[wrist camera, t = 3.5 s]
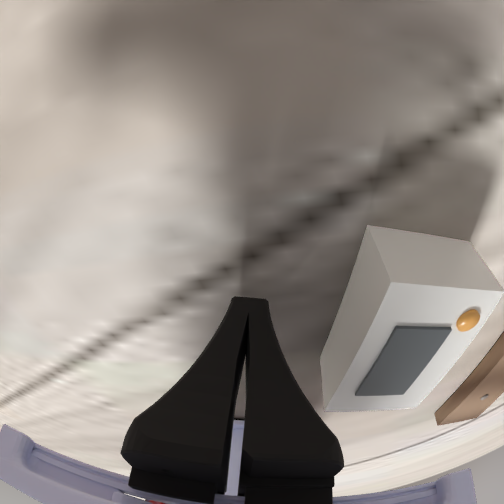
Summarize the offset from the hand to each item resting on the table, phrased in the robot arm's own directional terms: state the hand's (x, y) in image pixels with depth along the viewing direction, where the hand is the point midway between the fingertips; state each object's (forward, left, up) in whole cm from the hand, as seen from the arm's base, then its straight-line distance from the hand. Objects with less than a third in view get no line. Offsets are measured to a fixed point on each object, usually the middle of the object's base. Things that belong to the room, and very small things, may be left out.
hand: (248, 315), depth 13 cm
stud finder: (0, -6, -1) cm, 7 cm away
